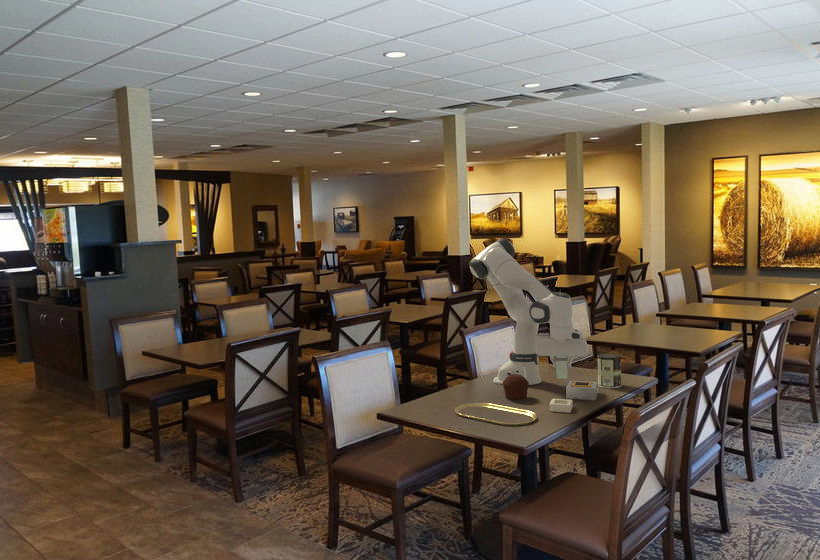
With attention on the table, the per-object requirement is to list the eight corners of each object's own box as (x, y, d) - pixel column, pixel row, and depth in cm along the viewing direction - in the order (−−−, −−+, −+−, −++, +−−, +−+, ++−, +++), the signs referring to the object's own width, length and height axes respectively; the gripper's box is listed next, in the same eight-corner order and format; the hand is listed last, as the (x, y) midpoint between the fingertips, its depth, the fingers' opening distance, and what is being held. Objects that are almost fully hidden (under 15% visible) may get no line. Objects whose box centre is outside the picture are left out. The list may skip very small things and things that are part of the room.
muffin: (528, 401, 271) (528, 378, 270) (502, 401, 273) (501, 378, 272) (529, 394, 283) (528, 372, 282) (503, 394, 285) (503, 371, 284)
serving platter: (519, 430, 235) (519, 426, 235) (445, 414, 259) (445, 410, 258) (545, 418, 249) (545, 414, 249) (473, 404, 272) (472, 400, 272)
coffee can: (617, 382, 297) (617, 352, 296) (624, 388, 286) (624, 357, 285) (595, 383, 297) (594, 353, 296) (601, 389, 287) (600, 357, 285)
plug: (556, 378, 256) (555, 356, 255) (557, 376, 260) (557, 354, 259) (567, 378, 255) (566, 356, 254) (568, 376, 259) (567, 354, 258)
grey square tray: (549, 411, 256) (549, 403, 256) (552, 405, 263) (552, 398, 263) (570, 412, 253) (570, 405, 253) (572, 407, 261) (572, 399, 260)
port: (566, 398, 273) (566, 386, 273) (569, 391, 284) (569, 379, 284) (595, 400, 269) (595, 387, 268) (597, 393, 280) (597, 381, 280)
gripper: (533, 334, 256) (534, 368, 258) (586, 335, 249) (587, 370, 251) (536, 331, 262) (537, 364, 263) (588, 332, 255) (588, 366, 256)
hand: (562, 367), depth 257 cm, fingers closed on plug, 4 cm apart
